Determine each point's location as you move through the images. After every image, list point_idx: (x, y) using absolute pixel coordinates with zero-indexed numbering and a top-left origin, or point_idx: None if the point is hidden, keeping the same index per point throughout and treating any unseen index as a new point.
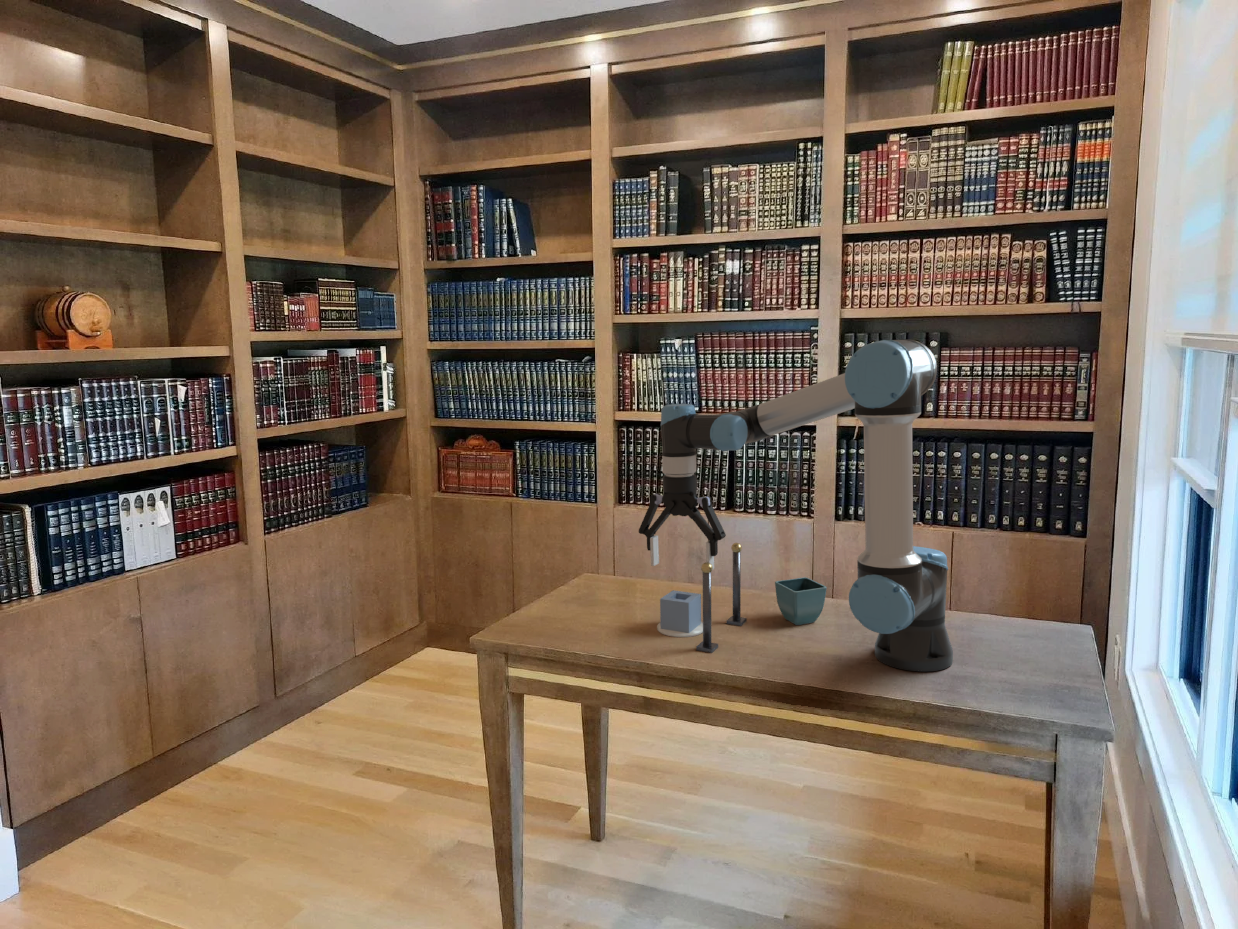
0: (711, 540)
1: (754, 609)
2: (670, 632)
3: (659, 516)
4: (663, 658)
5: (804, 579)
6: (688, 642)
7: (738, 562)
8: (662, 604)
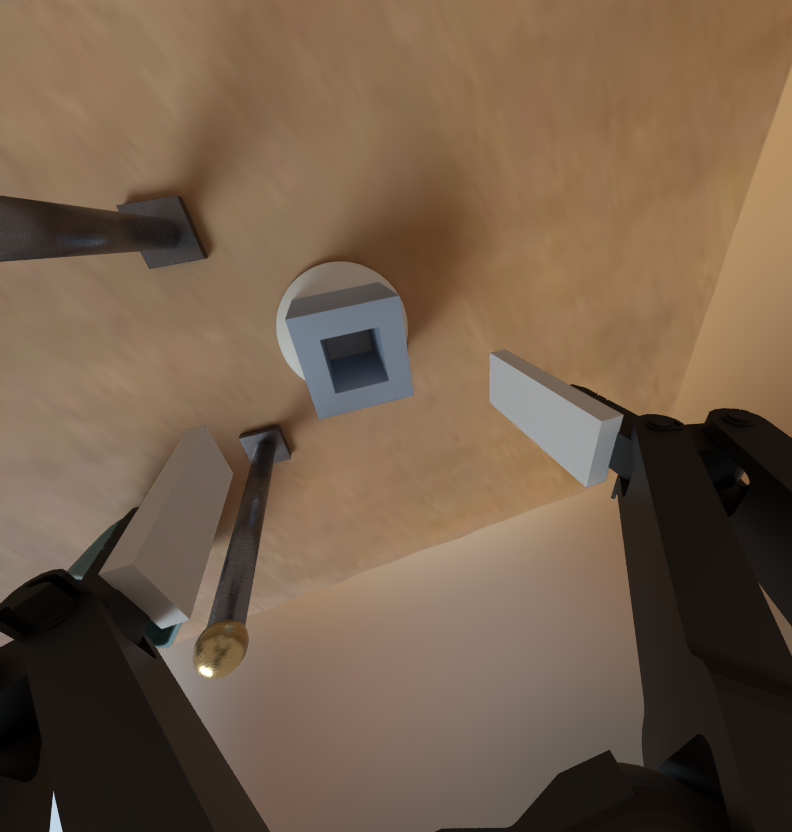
0: (13, 603)
1: (295, 518)
2: (336, 271)
3: (772, 627)
4: (201, 33)
5: (167, 639)
6: (255, 250)
7: (218, 584)
8: (386, 293)
